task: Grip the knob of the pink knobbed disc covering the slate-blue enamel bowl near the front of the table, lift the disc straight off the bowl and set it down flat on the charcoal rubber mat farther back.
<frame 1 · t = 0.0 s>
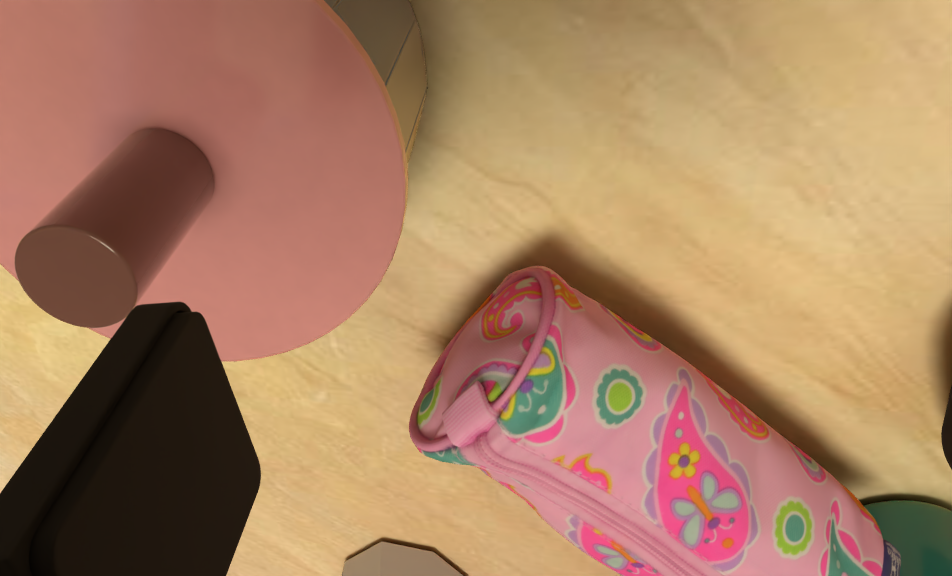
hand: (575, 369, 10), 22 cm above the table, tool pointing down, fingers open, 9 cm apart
cup: (910, 540, 43), on the table
pencil case: (649, 406, 39), on the table
bowl: (258, 66, 31), on the table
pink knobbed disc: (174, 164, 24), point 8 cm above the table, touching bowl
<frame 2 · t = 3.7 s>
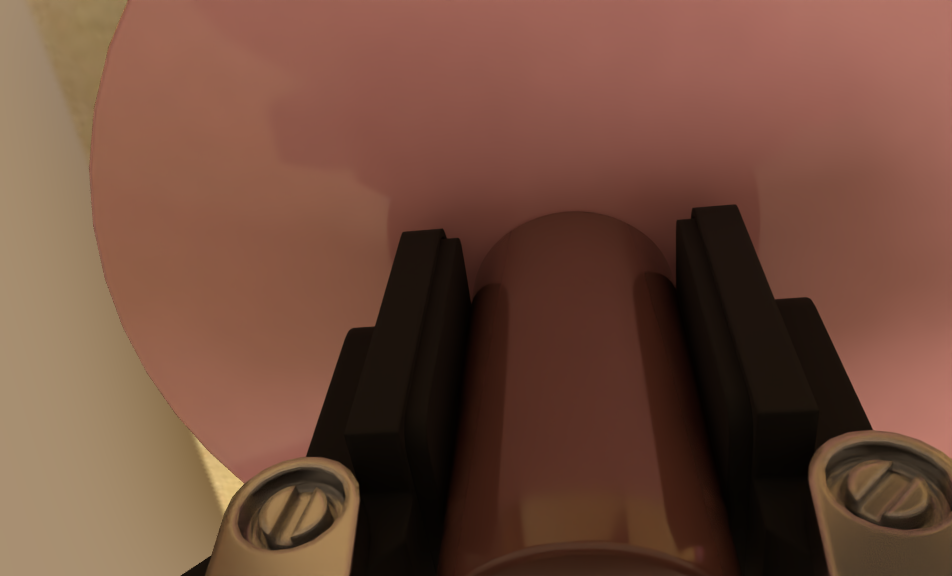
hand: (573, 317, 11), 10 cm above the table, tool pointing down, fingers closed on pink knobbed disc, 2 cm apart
pink knobbed disc: (571, 273, 12), point 9 cm above the table, touching bowl, gripper
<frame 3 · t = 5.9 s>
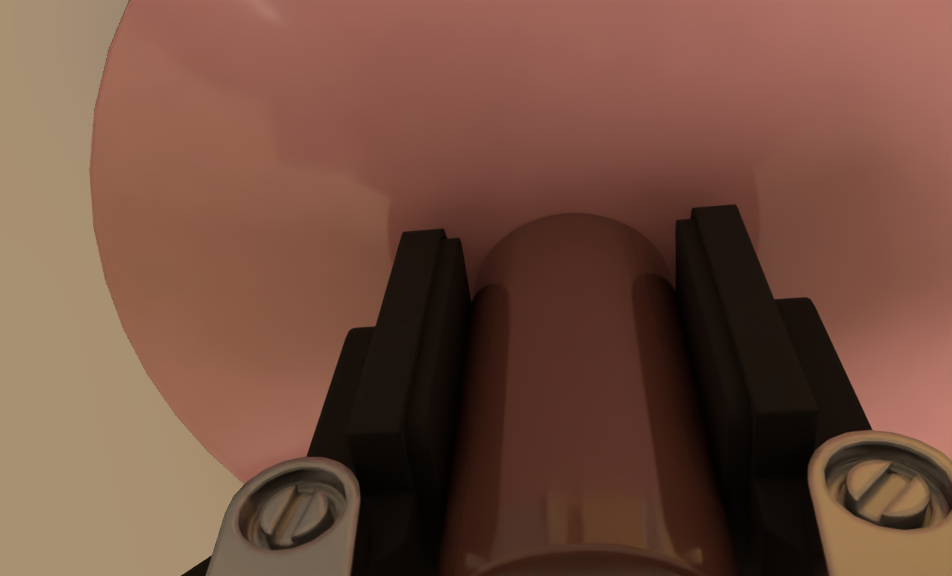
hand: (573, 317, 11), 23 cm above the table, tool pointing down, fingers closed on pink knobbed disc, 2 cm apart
pink knobbed disc: (571, 275, 12), point 22 cm above the table, touching gripper
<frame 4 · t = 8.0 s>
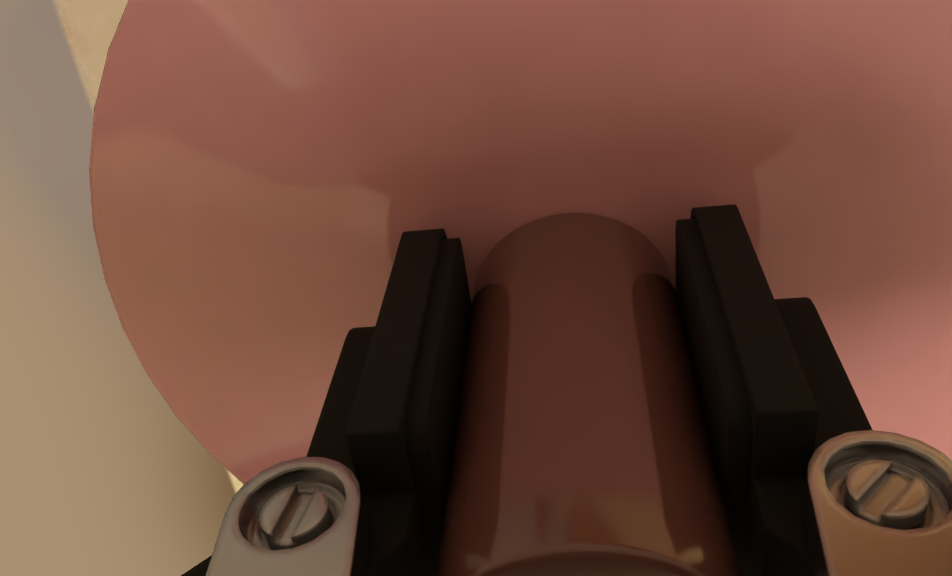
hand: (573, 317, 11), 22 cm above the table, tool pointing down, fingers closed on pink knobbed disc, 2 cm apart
pink knobbed disc: (571, 275, 12), point 21 cm above the table, touching gripper
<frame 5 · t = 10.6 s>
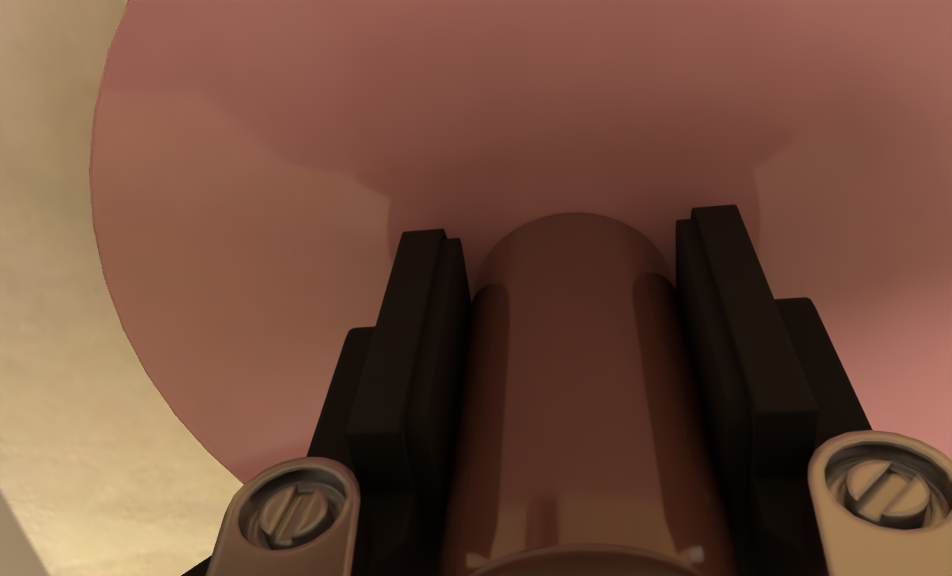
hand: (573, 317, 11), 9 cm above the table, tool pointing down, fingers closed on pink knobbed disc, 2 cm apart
pink knobbed disc: (571, 275, 12), point 8 cm above the table, touching gripper
when the fingers open (2 cm above the table, at t = 12.4 s): pink knobbed disc stays where it is, resting on mat.
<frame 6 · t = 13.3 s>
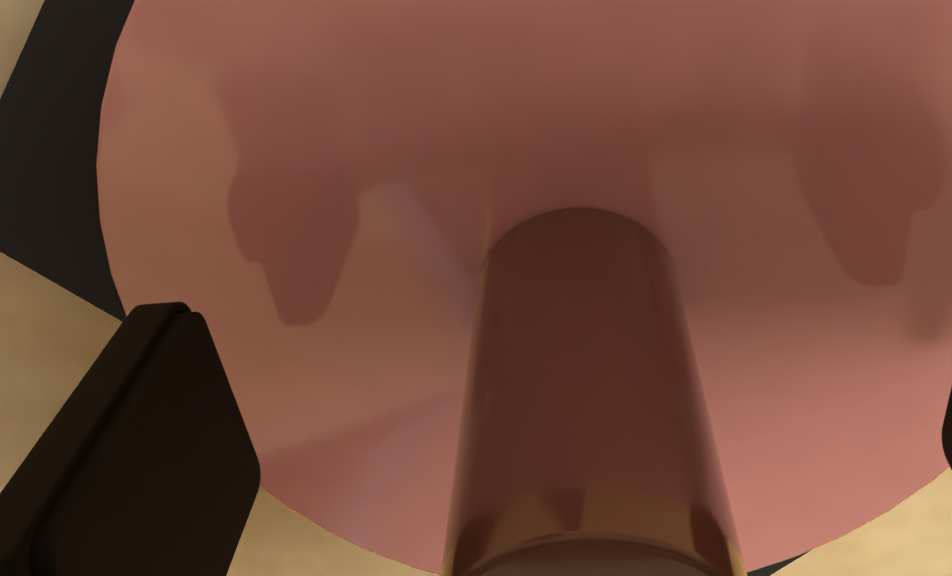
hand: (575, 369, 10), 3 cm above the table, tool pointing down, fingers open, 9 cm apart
mat: (572, 235, 13), on the table
pink knobbed disc: (575, 270, 12), point 1 cm above the table, touching mat
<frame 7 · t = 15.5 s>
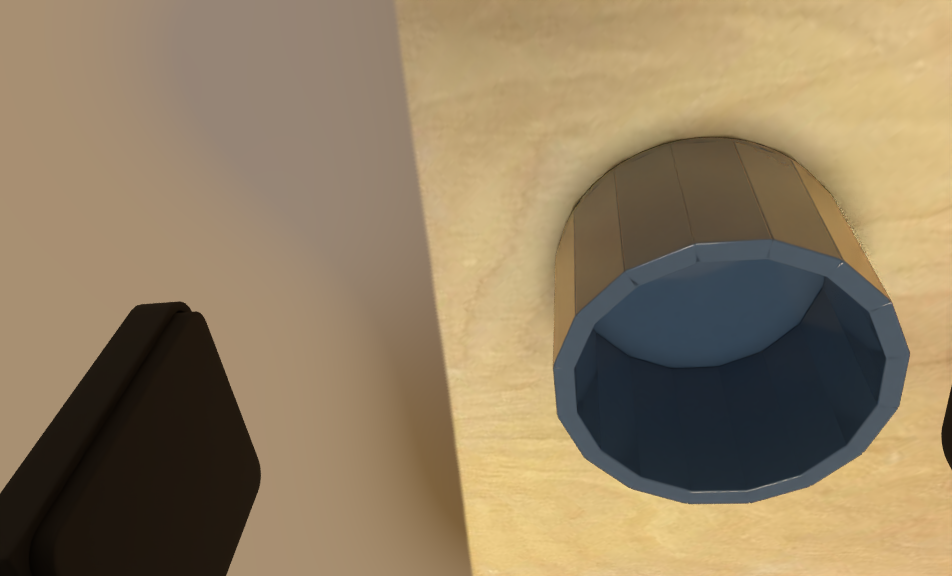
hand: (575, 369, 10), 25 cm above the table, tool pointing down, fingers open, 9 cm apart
bowl: (695, 265, 38), on the table
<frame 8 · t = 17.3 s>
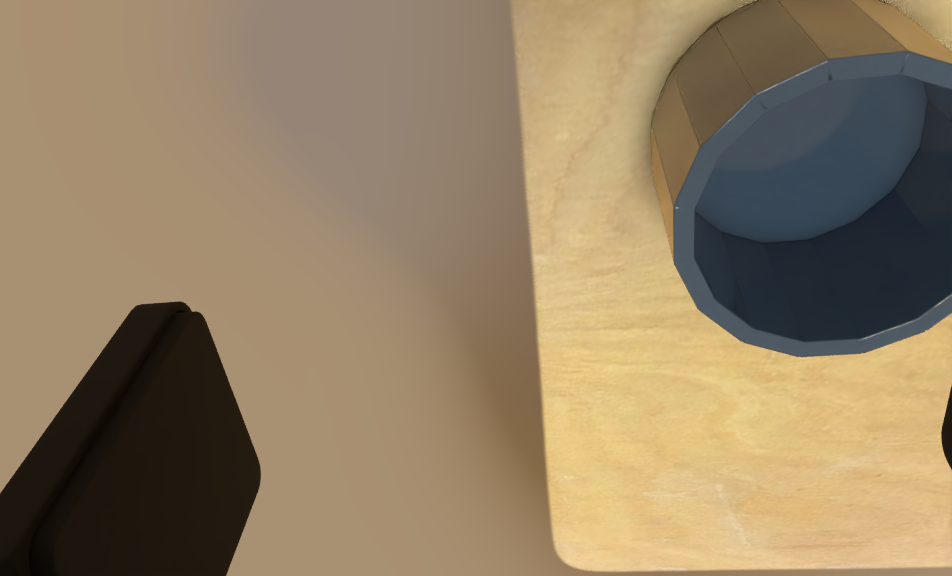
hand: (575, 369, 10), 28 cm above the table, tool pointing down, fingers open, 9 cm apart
bowl: (791, 131, 38), on the table
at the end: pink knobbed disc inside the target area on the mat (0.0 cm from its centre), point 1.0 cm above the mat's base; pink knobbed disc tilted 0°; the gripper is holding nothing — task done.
